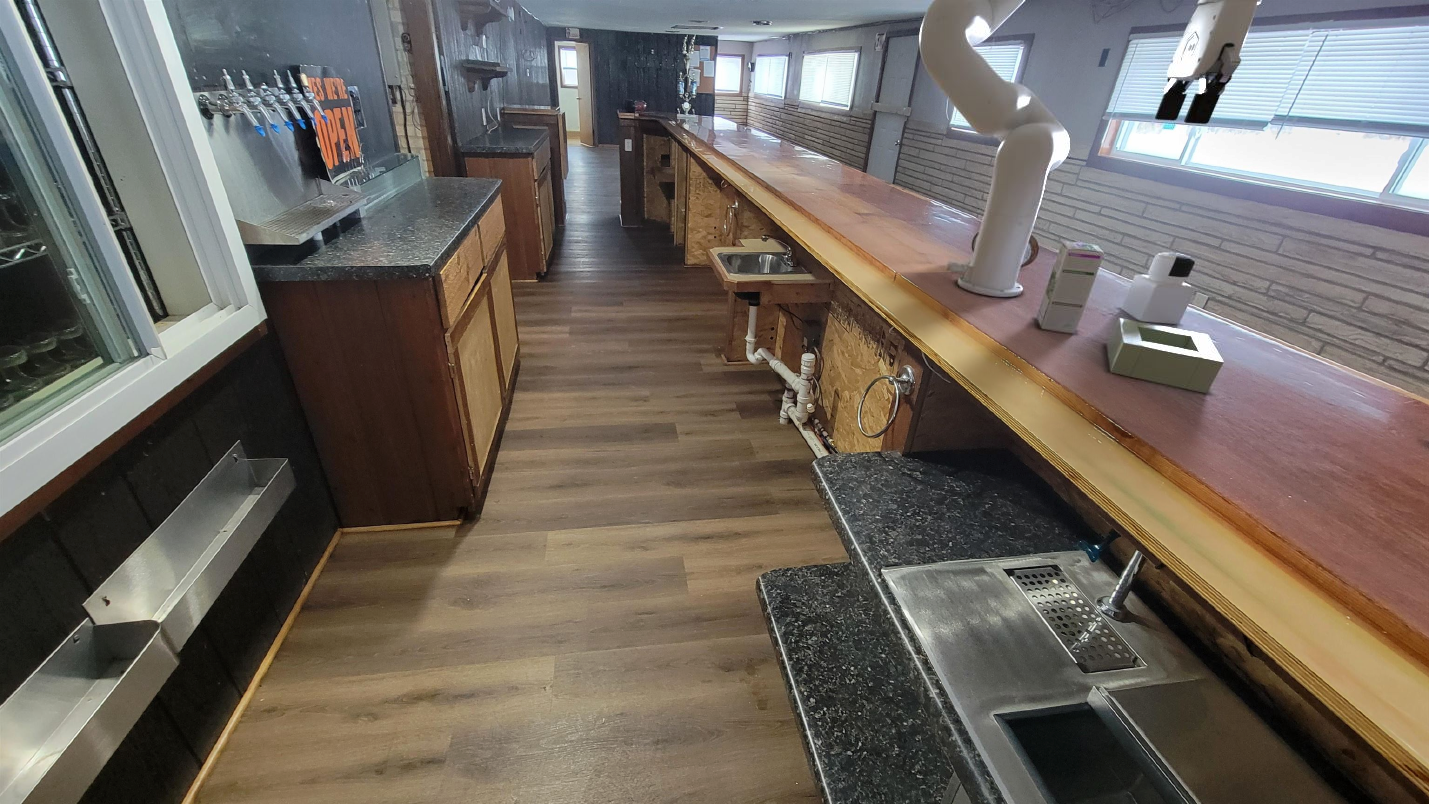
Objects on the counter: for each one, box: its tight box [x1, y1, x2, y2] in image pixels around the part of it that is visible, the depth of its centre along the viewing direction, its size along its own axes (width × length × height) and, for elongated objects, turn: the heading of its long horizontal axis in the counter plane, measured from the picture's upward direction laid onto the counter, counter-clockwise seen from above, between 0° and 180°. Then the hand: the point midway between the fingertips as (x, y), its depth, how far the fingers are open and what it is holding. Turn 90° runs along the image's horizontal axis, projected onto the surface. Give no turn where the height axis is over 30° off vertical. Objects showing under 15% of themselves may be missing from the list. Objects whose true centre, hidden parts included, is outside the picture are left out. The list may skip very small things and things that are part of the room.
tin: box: [971, 231, 1040, 269], centre depth 135 cm, size 15×3×8 cm, turn 43°
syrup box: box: [1036, 241, 1105, 334], centre depth 98 cm, size 6×6×14 cm
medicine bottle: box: [1120, 251, 1196, 325], centre depth 106 cm, size 7×7×12 cm
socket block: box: [1106, 317, 1225, 394], centre depth 87 cm, size 12×12×5 cm
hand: (1179, 121), depth 91 cm, fingers open, 9 cm apart
